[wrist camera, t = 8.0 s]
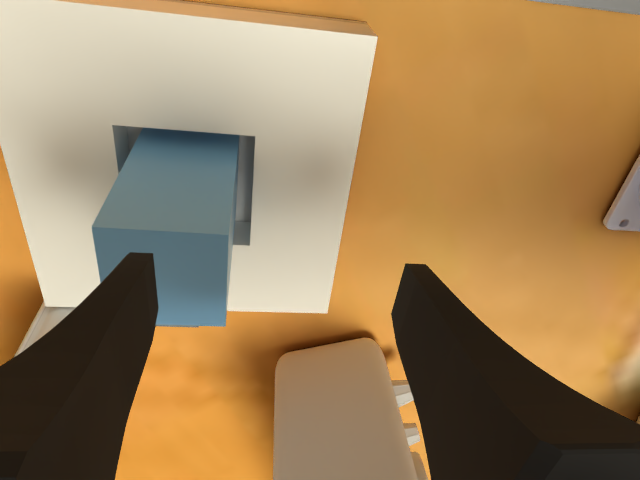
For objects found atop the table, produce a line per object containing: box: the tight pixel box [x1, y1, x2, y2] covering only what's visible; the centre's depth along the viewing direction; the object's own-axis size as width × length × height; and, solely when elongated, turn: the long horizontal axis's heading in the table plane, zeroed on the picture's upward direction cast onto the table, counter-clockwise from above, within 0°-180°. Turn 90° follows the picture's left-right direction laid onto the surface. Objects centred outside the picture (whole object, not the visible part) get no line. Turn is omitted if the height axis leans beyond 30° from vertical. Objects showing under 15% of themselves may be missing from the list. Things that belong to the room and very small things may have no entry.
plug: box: [92, 127, 239, 327], centre depth 19 cm, size 4×5×8 cm
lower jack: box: [0, 0, 378, 313], centre depth 22 cm, size 14×14×2 cm
